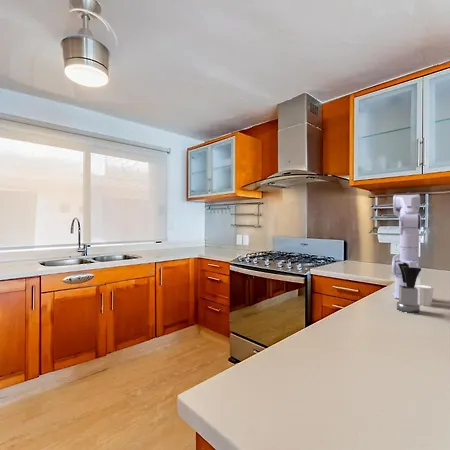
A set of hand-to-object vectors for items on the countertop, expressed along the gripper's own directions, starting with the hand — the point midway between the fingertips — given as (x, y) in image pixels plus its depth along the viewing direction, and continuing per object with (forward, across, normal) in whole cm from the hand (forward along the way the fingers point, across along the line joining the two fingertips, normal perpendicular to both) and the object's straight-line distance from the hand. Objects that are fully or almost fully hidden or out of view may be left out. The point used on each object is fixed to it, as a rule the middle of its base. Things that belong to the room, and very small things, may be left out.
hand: (408, 284), depth 107 cm
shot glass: (+10, -13, +7) cm, 18 cm away
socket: (+7, 0, 0) cm, 7 cm away
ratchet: (+9, -3, 0) cm, 10 cm away
